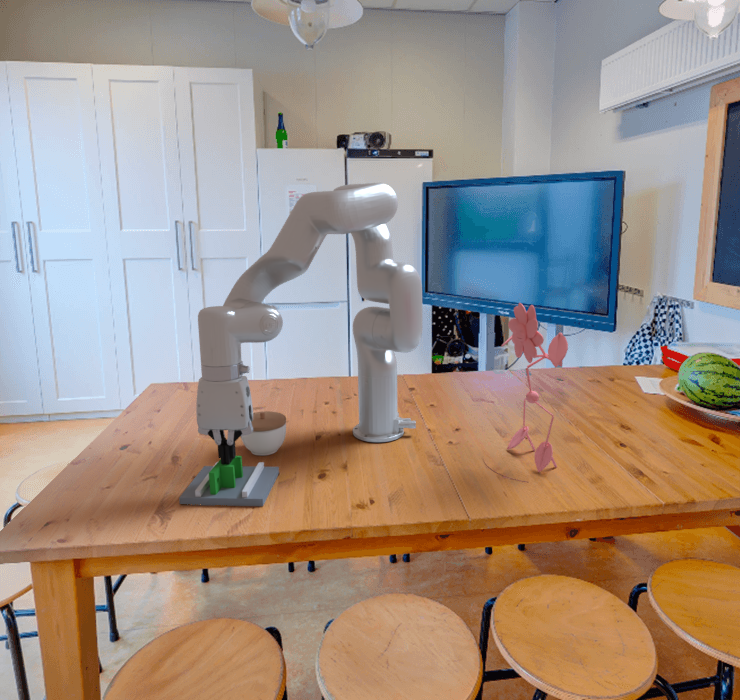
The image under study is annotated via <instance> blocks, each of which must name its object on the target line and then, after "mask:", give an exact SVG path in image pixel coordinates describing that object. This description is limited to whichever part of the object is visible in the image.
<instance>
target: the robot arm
mask: <svg viewBox="0 0 740 700" xmlns="http://www.w3.org/2000/svg"><path fill="white" fill-rule="evenodd" d="M398 206H399V200H398V196H397V194H396V192H395V190H394V189H393V188H392V187H391V186H390V185H388V183H383V182H367V183H351V184H349V183H348V184H345V185H340V186H338V187H336V188H334V189H333V190H327V191H326V190H323V191H322V190H321V191H312V192H308V193H305V194H303V195H302V196H300V197H299V198H298V200H297V201H296V203H295V205H294V206H293V208H292V210H291V212H290V213H289V215H288V217H287V218H286V220H285V222H284V224H283V225H282V228H281V229H280V231H279V233H278V234H277V236H276V238H275V240H274V241H273V242H272V244H271V245H270V248H269V249H268V250H267V251H266V252H265V253H264V254H263V255H262V256H260V257H259V258H258V259H257V260H255V262H254V263H253V264H252V265H251V266H249V268H247V269H246V270H245V271H244V272H243V273H242V274H241V275H240V277H239V278H238V279H237V281H236V282H235V284H234V285H233V287H232V288H231V290H230V292H229V293H228V295H227V297H226V298H225V300H224V303H223V305H217V306H214V305H213V306H208V307H203V308H202V309H200V310H199V311H198V314H197V324H198V325H197V326H198V327H197V328H198V342H199V354H200V368H201V369H200V370H201V376H200V378H199V379H198V384H197V392H196V409H195V410H196V411H195V412H196V423H197V426H198V427H197V433H198V434H201V435H205V436H208V437H210V438H211V439H212V440H213V441H214V443H215V445H217V453H218V455H217V456H218V459H221V464H225V463H226V464H230V463H231V462H232V460H233V459H234V458H235V456H237V454H236V453H237V451H236V442H237V440H238V439H239V438H241V436H244V435H249V434H251V433H252V432H253V426H252V423H251V422H252V421H253V413H254V408H253V400H252V399H253V398H252V394H251V393H252V392H251V388H250V383H249V380H248V377H247V376H246V375H245V374H250V371H251V370H250V366H249V365H244V361H243V360H242V344H243V343H255V344H258V343H260V344H261V343H267V342H270V341H272V340H274V339H276V337H278V336H279V335H280V333H281V332H282V330H283V324H284V323H283V318H282V315H281V313H280V312H279V310H278V309H277V308H275V307H274V306H272V305H270V304H267V303H263V301H264V300H265V299H266V297H267V296H268V295H269V294H270V293H271V292H273V290H275V289H276V288H277V287H279V286H281V285H283V284H285V283H288V282H290V281H291V280H295V279H296V278H298V277H300V276H302V275H303V274H305V273H306V272H307V271H308V269H309V267H310V266H311V264H312V262H313V260H314V258H315V256H316V255H317V253H318V251H319V249H320V248H321V245H322V244H323V242H324V240H325V239H326V237H327V236H328V235H345V234H351V236H352V238H353V241H354V242H353V243H354V249H355V264H356V265H355V266H356V267H355V269H356V285H357V287H356V288H357V291H358V294H359V296H360V297H361V298H362V299H364V300H366V301H369V302H374V303H380V304H385V305H386V304H388V307H381V306H367V307H364V308H362V309H360V310H359V311H358V312H357V314H355V317H354V319H353V322H352V335H353V340H354V343H355V348H356V357H357V382H358V383H357V385H358V386H357V390H358V423H357V424H356V425H354V427H353V428H352V435H353V436H354V437H355V438H356V439H358V440H360V441H364V442H369V443H386V442H392V441H395V440H398V439H399V438H401V437H403V435H404V432H405V431H404V430H405V429H416V425H417V422H416V421H417V420H411V417H406V418H405V417H401V416H400V413H399V412H398V362H397V357H396V354H395V353H402V354H407V353H411V352H413V351H414V350H415V349H416V348H417V347H418V346H419V344H420V342H421V339H422V335H423V284H422V280H421V276H420V274H419V272H418V270H416V269H417V268H415V267H414V266H413V265H411V264H409V263H405V262H399V261H394V254H393V240H392V236H391V232H390V230H389V228H388V226H387V223H389V222H390V221H391V220H393V218H394V217H395V215H396V214H397V211H398V208H399V207H398ZM225 431H227V437H226V433H225Z"/></svg>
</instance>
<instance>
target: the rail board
mask: <svg viewBox="0 0 740 700" xmlns="http://www.w3.org/2000/svg"><path fill="white" fill-rule="evenodd" d="M217 463H218V461H217V462H215V464H214V465H204V466H203V467H202V468H201V470H200V471H199V472H198V473H197V475H196V476H195V477H194V478H193V479H192V481H191V482H190V483H189V485H188V486H187V487H186V488H185V490H184V491H183V492H182V493H181V494H180V496H179V497H178V500H179V501H178V502H179V505H180V504H187V505H186V506H215V505H221V506H220V507H224V505H225V506H226V505H227V506H226V507H228V506H229V507H231V506H232V507H233V506H234V507H264V505H265V503H266V501H267V499H268V497H269V496H270V493H271V491H272V490H273V489H272V488H273V487H274V485H275V482H276V480H277V479H278V476H279V474H280V469H279V468H280V467H279V466H265V462H264V461H262V462H261V461H259V462H258V463H257V465H256V466H254V465H253V466H249V465H248V466H243V465H242V469H243V477H242V478H235V483H236V487H235V488H223V487H222V488H221V489H220V490H219V492H218V493H217V494H216V495H211V494H210V483H209V472H210V471H211V470H212V468H213V467H214V466H215V465H216V464H217ZM188 504H190V505H188ZM191 504H192V505H191ZM195 504H196V505H195ZM197 504H198V505H197ZM200 504H201V505H200ZM222 505H223V506H222Z"/></svg>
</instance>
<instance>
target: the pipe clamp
mask: <svg viewBox="0 0 740 700" xmlns="http://www.w3.org/2000/svg"><path fill="white" fill-rule="evenodd" d="M217 462H218V463H217V464H216V463H215V464H216V465H215V464H214V465H215V466H214V465H213V466H214V467H213V468H212V470H211V471H210V472H209V483H210V494H211V495H216V494H217V493H218V492H219V490H220V489H221V488H222V487H223V488H235V487H236V483H235V478H242V477H243V469H242V466H243V457H242V455H236V456H235V458H234V459H233V460H232V462H231V463H230V464H226V463H225V464H221V458H219V460H218V461H217Z"/></svg>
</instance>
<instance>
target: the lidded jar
mask: <svg viewBox="0 0 740 700" xmlns="http://www.w3.org/2000/svg"><path fill="white" fill-rule="evenodd" d="M251 423H252V426H253V432H252V433H251V434H249V435H244V436H240V438H241V441H242V443H243V446H245V448H246V449H247V450H248V451H250V452H251V454H252V455H255V456H263V457H264V456H270V455H273V454H275V453H276V452H278V450H279V449H280V447H281V446H282V445H283V443H284V441H285V438H286V435H287V417H286V415H285V414H284V413H281V412H278V411H258V412H257V411H255V412H253V421H252V422H251Z"/></svg>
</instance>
